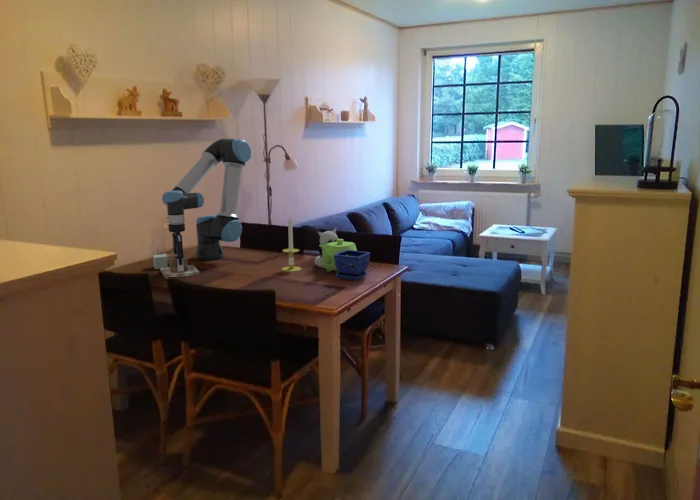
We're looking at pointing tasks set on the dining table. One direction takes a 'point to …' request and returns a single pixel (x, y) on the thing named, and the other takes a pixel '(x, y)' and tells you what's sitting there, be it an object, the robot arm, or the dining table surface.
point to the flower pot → (351, 264)
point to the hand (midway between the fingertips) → (179, 269)
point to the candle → (291, 250)
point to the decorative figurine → (325, 238)
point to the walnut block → (174, 264)
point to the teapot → (334, 252)
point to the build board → (191, 272)
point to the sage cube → (160, 261)
